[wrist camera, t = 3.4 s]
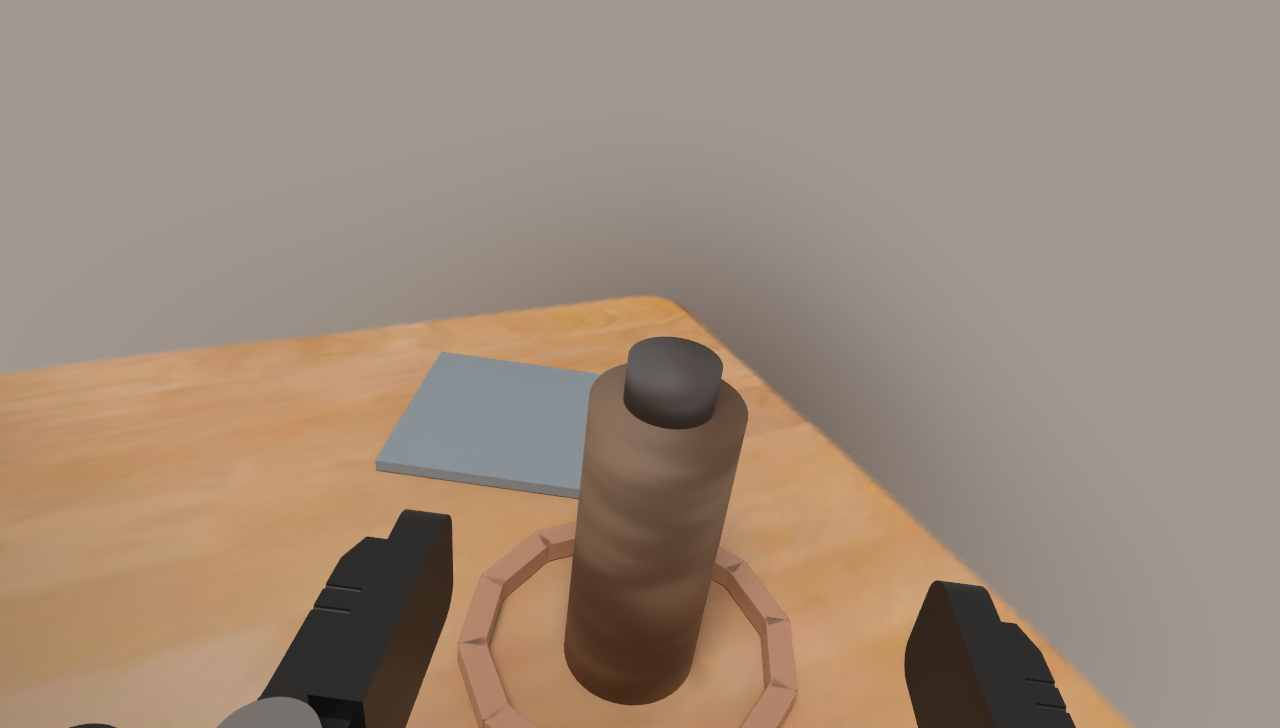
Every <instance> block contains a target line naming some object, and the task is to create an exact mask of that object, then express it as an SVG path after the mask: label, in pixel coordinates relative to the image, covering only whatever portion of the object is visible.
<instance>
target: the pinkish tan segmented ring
mask: <svg viewBox="0 0 1280 728" xmlns="http://www.w3.org/2000/svg"><path fill="white" fill-rule="evenodd" d="M576 523H577V522H574V523H569V524H565V525H561V526H556V527H552V528H548V529H544V530H539V531H537V533H536V532H534V533H533V534H532V535H531V536H529V537H528V538H527V539H526V540H524V541H523V542H522V543H521V544H519V545H518V546H517V547H516V548H514V549H513V550H512V551H511V552H509V553H508V554H507V555H506V556H504V557H503V558H502V559H501V560H499V561H498V562H497V563H496V564H494V565H493V566H492V567H491V568H489V569H488V570H487V571H486V572H484V573H483V574H482V576H480V579H479V582H478V585H477V588H476V591H475V594H474V597H473V600H472V603H471V605H470V608H469V611H468V614H467V617H466V620H465V623H464V626H463V629H462V632H461V635H460V638H459V641H458V663H459V666H460V669H461V672H462V675H463V678H464V682H465V685H466V688H467V691H468V694H469V697H470V700H471V703H472V707H473V710H474V713H475V716H476V719H477V722H478V725H479V728H538V727H537V726H535V725H534V724H533V723H531V722H530V721H529V720H527V719H526V718H525V717H523V716H522V715H521V714H519V713H518V712H517V711H515V710H514V709H513V708H511V707H510V706H509V704H508V702H507V699H506V696H505V693H504V691H503V688H502V685H501V682H500V680H499V677H498V674H497V671H496V669H495V666H494V663H493V660H492V658H491V655H490V652H489V649H488V647H489V644H490V640H491V637H492V634H493V630H494V627H495V623H496V620H497V617H498V613H499V610H500V607H501V603H502V600H503V599H504V598H506V597H507V596H508V595H509V594H510V593H511V592H513V591H514V590H515V589H516V588H517V587H518V586H520V585H521V584H522V583H523V582H524V581H525V580H527V579H528V578H529V577H530V576H531V575H532V574H534V573H535V572H536V571H537V570H538V569H540V568H541V567H542V566H543V565H544V564H545V563H547V562H548V561H551V560H555V559H559V558H563V557H567V556H571V555H573V553H574V543H575V533H576ZM711 579H713V580H715V581H717V582H718V583H720V584H722V585H724V586H725V587H726V588H727V590H728V591H729V592H730V594H731V595H732V597H733V598H734V599H735V601H736V602H737V604H738V605H739V606H740V608H741V609H742V611H743V612H744V613H745V615H746V616H747V618H748V619H749V621H750V622H751V623H752V625H753V626H754V628H755V629H756V630H757V632H758V633H759V635H760V636H761V640H762V654H763V667H764V681H765V692H764V693H763V695H762V696H761V698H760V700H759V701H758V703H757V704H756V706H755V707H754V709H753V710H752V712H751V713H750V715H749V717H748V718H747V720H746V721H745V723H744V724H743V726H742V727H741V728H780V727H781V726H782V724H783V722H784V721H785V719H786V717H787V716H788V714H789V712H790V711H791V709H792V706H793V703H794V700H795V698H796V695H797V691H798V690H797V681H796V672H795V663H794V655H793V646H792V637H791V629H790V620H788V619H789V618H788V617H787V615H786V614H785V613H784V611H783V610H782V609H781V607H780V606H779V605H778V604H777V602H776V601H775V600H774V598H773V597H772V596H771V594H770V593H769V592H768V590H767V589H766V588H765V586H764V585H763V584H762V583H761V581H760V580H759V579H758V577H757V576H756V575H755V573H754V572H753V571H752V569H751V568H750V567H749V566H748V564H747V563H746V562H744V560H742V559H741V558H739V557H737V556H735V555H733V554H731V553H730V552H728V551H726V550H724V549H722V548H721V547H718V551H717V555H716V560H715V564H714V568H713V573H712V577H711Z"/></svg>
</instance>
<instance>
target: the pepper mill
mask: <svg viewBox="0 0 1280 728" xmlns="http://www.w3.org/2000/svg"><path fill="white" fill-rule="evenodd" d="M722 371H723V364H722V361H721V359H720V358H719V357H718V355H717V354H716V353H714V352H713V351H712V350H711V349H709V348H707V347H706V346H704V345H702V344H699V343H697V342H694V341H691V340H687V339H682V338H676V337H654V338H649V339H645V340H642V341H640V342H638V343H636V344H635V345H634V346H633V347H632V348H631V349H630V351H629V355H628V363H627V364H623V365H620V366H617V367H614V368H612V369H610V370H608V371H606V372H605V373H603V374H602V375H601V376H599V377H598V378H597V379H596V380H595V382H594V383H593V385H592V387H591V390H590V395H589V404H588V414H587V424H586V434H585V444H584V454H583V464H582V474H581V483H580V493H579V503H578V513H577V523H576V533H575V543H574V553H573V563H572V573H571V583H570V593H569V603H568V613H567V622H566V632H565V642H564V653H565V658H566V661H567V664H568V667H569V669H570V670H571V672H572V674H573V675H574V677H575V678H576V679H577V681H578V682H579V683H580V684H581V685H582V686H583V687H585V688H586V689H587V690H588V691H590V692H591V693H593V694H595V695H596V696H598V697H600V698H602V699H605V700H607V701H610V702H614V703H618V704H625V705H642V704H649V703H652V702H656V701H659V700H661V699H663V698H665V697H667V696H669V695H670V694H672V693H673V692H674V691H676V690H677V689H678V688H679V687H680V686H681V685H682V683H683V682H684V681H685V679H686V677H687V675H688V673H689V671H690V668H691V664H692V660H693V655H694V651H695V647H696V642H697V638H698V634H699V629H700V625H701V620H702V616H703V612H704V607H705V603H706V599H707V594H708V590H709V586H710V581H711V577H712V573H713V568H714V564H715V560H716V555H717V551H718V547H719V542H720V538H721V534H722V529H723V525H724V521H725V516H726V512H727V508H728V503H729V499H730V495H731V490H732V486H733V482H734V477H735V473H736V468H737V464H738V460H739V455H740V451H741V447H742V442H743V438H744V434H745V429H746V425H747V421H748V410H747V406H746V404H745V402H744V400H743V399H742V397H741V396H740V394H739V393H738V392H737V391H736V390H735V389H734V388H733V387H732V386H731V385H729V384H728V383H726V382H725V381H724V380H722V379H721V376H722Z"/></svg>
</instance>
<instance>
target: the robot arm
mask: <svg viewBox="0 0 1280 728" xmlns="http://www.w3.org/2000/svg"><path fill="white" fill-rule="evenodd" d="M452 590H453V549H452V520H451V516H450V515H446V514H439V513H431V512H423V511H416V510H408V509H406V510H404V511H403V512H402V513H401V514H400V516H399V518H398V520H397V522H396V524H395V526H394V528H393V530H392V532H391V533H390V535H389V537H388V539H382V538H374V537H366V538H364V539H363V540H362V541H361V542H359V543H358V544H357V545H356V546H355V547H353V548H352V549H351V550H350V551H348V552H347V553H346V554H345V555H344V556H342V557H341V559H340V560H339V562H338V564H337V565H336V567H335V569H334V571H333V572H332V574H331V576H330V578H329V579H328V581H327V583H326V587H325V589H323V590H322V591H321V593H320V595H319V597H318V598H317V600H316V602H315V604H314V608H313V610H311V611H310V612H309V614H308V616H307V617H306V619H305V621H304V623H303V624H302V626H301V628H300V630H299V631H298V633H297V635H296V637H295V638H294V640H293V642H292V643H291V645H290V647H289V649H288V650H287V652H286V654H285V656H284V657H283V659H282V661H281V663H280V664H279V666H278V668H277V669H276V671H275V673H274V675H273V676H272V678H271V680H270V682H269V683H268V685H267V687H266V689H265V690H264V691H263V693H262V694H261V696H260V697H259V698H258V700H257V701H255V702H252V703H250V704H248V705H246V706H243V707H242V708H240V709H238V710H237V711H235V712H233V713H232V714H231V715H230V716H228V717H227V718H226V719H225V720H224V721H223V722H222V723H221V724H220V725H219V726H218V727H217V728H405V727H406V725H407V722H408V719H409V717H410V714H411V711H412V709H413V706H414V703H415V701H416V698H417V695H418V693H419V690H420V687H421V685H422V682H423V679H424V677H425V674H426V671H427V669H428V666H429V663H430V661H431V658H432V655H433V653H434V650H435V647H436V645H437V642H438V639H439V637H440V634H441V631H442V629H443V626H444V623H445V620H446V618H447V614H448V611H449V607H450V602H451V597H452ZM905 678H906V683H907V687H908V691H909V694H910V698H911V702H912V706H913V710H914V713H915V717H916V721H917V725H918V728H1076V727H1075V725H1074V723H1073V720H1072V718H1071V716H1070V714H1069V713H1066V705H1065V703H1064V701H1063V699H1062V696H1061V694H1060V692H1059V690H1058V688H1055V686H1054V683H1055V681H1054V679H1053V677H1052V675H1051V672H1050V670H1049V668H1048V666H1047V664H1046V662H1045V659H1044V657H1043V655H1042V653H1041V651H1040V650H1039V649H1038V648H1037V647H1036V646H1035V644H1034V643H1033V642H1032V641H1031V640H1030V639H1029V638H1028V637H1027V635H1026V634H1025V633H1024V632H1023V631H1022V630H1021V629H1020V628H1019V626H1018V625H1017V624H1014V623H1006V622H1001V620H1000V618H999V616H998V613H997V611H996V609H995V606H994V604H993V601H992V599H991V597H990V595H989V593H988V591H987V590H986V589H985V588H984V587H982V586H975V585H968V584H960V583H953V582H945V581H934V582H933V583H932V584H931V586H930V588H929V590H928V593H927V595H926V598H925V600H924V602H923V605H922V607H921V610H920V612H919V615H918V617H917V620H916V622H915V625H914V627H913V630H912V632H911V635H910V637H909V640H908V642H907V646H906V651H905ZM70 728H116V727H113V726H110V725H105V724H84V725H78V726H74V727H70Z"/></svg>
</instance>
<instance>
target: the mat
mask: <svg viewBox="0 0 1280 728" xmlns="http://www.w3.org/2000/svg"><path fill="white" fill-rule="evenodd" d="M601 375H602V374H595V373H588V372H581V371H574V370H567V369H560V368H552V367H545V366H538V365H531V364H524V363H517V362H510V361H503V360H496V359H488V358H481V357H474V356H467V355H460V354H453V353H446V352H441V353H440V355H439V356H438V358H437V360H436V361H435V363H434V365H433V366H432V368H431V370H430V371H429V373H428V375H427V376H426V378H425V380H424V381H423V383H422V385H421V386H420V388H419V390H418V391H417V393H416V394H415V396H414V398H413V399H412V401H411V403H410V404H409V406H408V408H407V409H406V411H405V413H404V414H403V416H402V418H401V419H400V421H399V423H398V424H397V426H396V428H395V429H394V431H393V432H392V434H391V436H390V437H389V439H388V441H387V442H386V444H385V446H384V447H383V449H382V451H381V452H380V454H379V456H378V457H377V459H376V470H380V471H387V472H394V473H401V474H408V475H415V476H422V477H429V478H436V479H443V480H450V481H457V482H464V483H471V484H478V485H486V486H493V487H500V488H507V489H514V490H521V491H528V492H535V493H542V494H549V495H556V496H563V497H570V498H577V499H579V493H580V483H581V474H582V464H583V454H584V444H585V434H586V424H587V414H588V404H589V395H590V390H591V387H592V385H593V383H594V382H595V380H596V379H597V378H598V377H599V376H601Z"/></svg>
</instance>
